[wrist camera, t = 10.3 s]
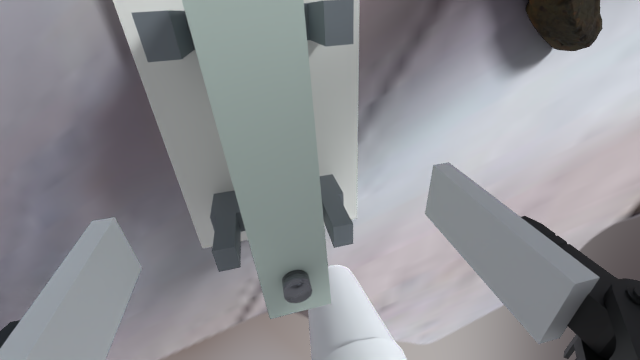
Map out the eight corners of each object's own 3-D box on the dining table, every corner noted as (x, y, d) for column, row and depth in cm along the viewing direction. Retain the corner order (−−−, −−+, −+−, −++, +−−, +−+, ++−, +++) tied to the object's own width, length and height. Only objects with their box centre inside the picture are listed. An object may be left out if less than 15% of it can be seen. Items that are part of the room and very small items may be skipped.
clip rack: (352, -67, 20) (420, -115, 13) (352, 210, 32) (386, 271, 25) (99, -61, 17) (-10, -118, 10) (203, 238, 30) (190, 316, 22)
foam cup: (348, 308, 41) (386, 416, 30) (285, 306, 38) (303, 426, 27) (375, 258, 37) (430, 361, 26) (308, 251, 34) (339, 365, 23)
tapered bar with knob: (275, -20, 16) (305, -46, 9) (307, 226, 26) (335, 316, 18) (202, -14, 16) (165, -38, 8) (262, 236, 25) (271, 334, 17)
